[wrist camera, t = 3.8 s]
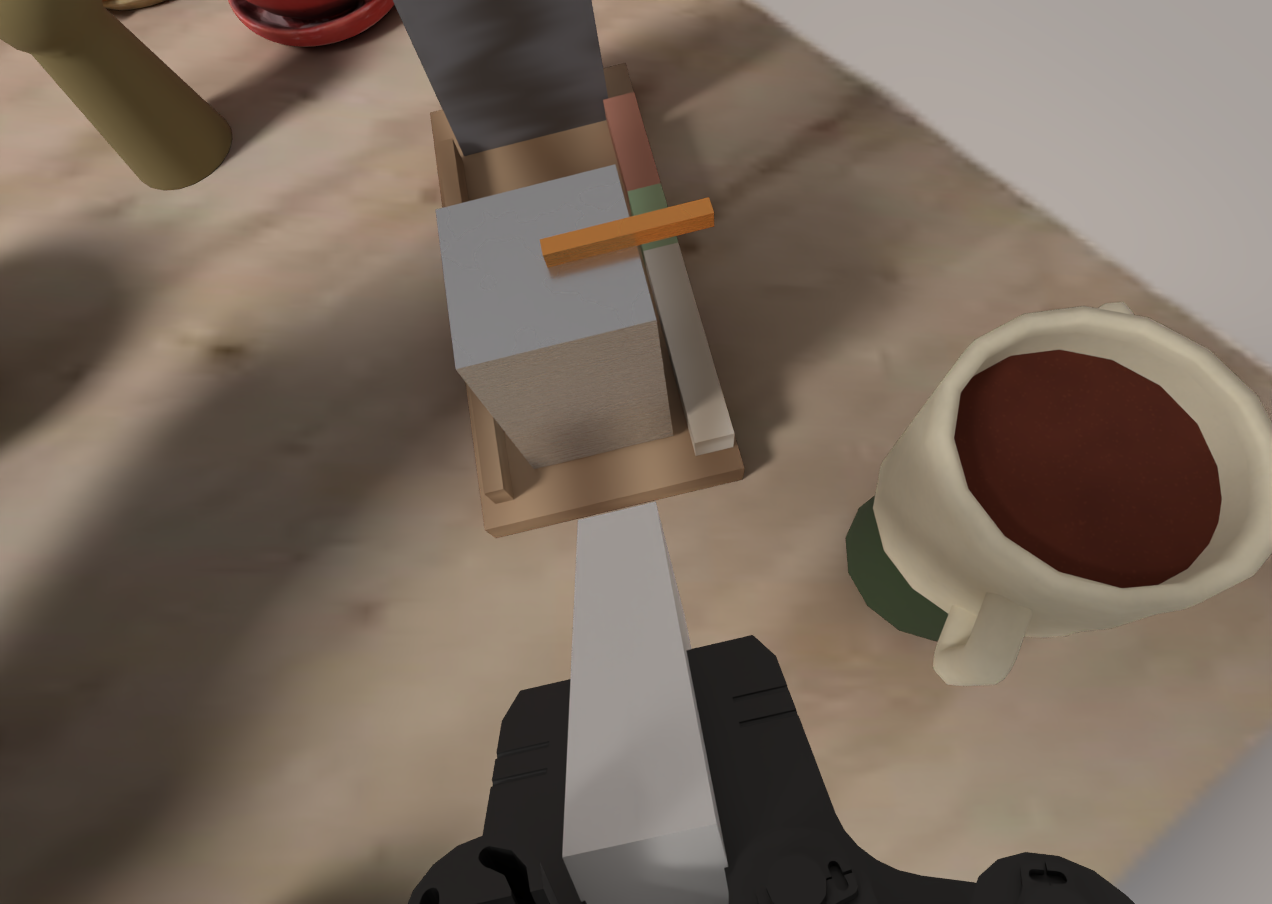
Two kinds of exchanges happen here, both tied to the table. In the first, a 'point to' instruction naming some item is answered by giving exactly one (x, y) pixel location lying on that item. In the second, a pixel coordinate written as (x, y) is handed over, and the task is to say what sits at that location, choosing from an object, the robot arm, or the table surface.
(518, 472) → the brown grey l-shaped piece
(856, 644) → the table surface
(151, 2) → the toy sandwich meal
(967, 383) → the character mug
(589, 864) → the robot arm
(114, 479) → the table surface
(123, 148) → the olive knobbed pawn
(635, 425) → the grey cube with stick
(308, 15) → the plant pot
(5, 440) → the table surface
